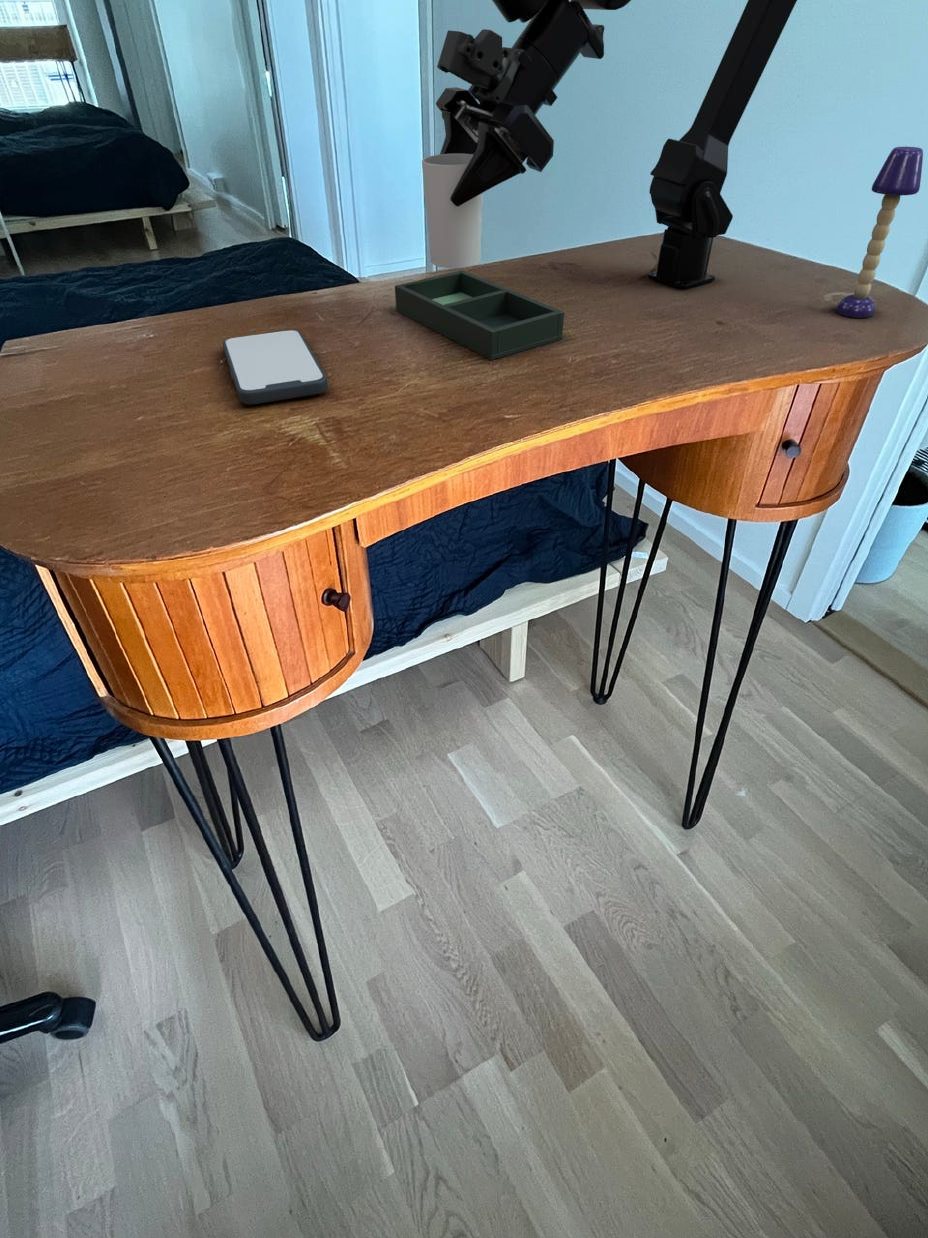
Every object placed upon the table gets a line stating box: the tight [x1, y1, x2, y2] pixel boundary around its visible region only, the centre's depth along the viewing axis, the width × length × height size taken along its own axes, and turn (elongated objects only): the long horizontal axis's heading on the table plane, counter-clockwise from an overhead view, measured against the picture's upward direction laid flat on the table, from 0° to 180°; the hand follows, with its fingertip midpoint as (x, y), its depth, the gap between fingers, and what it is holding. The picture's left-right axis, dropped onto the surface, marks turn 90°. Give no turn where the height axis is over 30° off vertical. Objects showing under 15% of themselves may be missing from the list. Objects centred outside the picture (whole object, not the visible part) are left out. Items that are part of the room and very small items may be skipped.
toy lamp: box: [835, 146, 924, 319], centre depth 80 cm, size 5×5×17 cm
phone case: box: [222, 329, 329, 406], centre depth 74 cm, size 9×2×16 cm
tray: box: [394, 269, 565, 361], centre depth 83 cm, size 10×19×3 cm, turn 36°
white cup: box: [421, 153, 484, 269], centre depth 79 cm, size 7×7×10 cm
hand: (442, 196), depth 77 cm, fingers closed on white cup, 6 cm apart
